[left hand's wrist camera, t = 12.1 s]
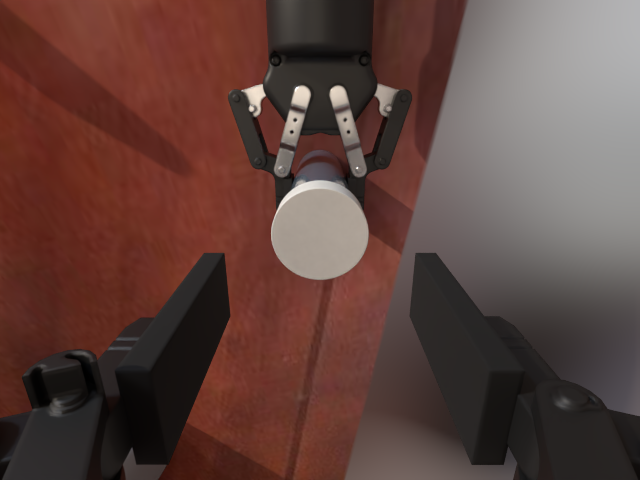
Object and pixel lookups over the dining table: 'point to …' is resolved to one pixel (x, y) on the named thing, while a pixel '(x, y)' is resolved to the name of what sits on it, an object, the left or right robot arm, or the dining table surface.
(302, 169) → the grey cylinder
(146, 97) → the dining table surface
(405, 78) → the dining table surface
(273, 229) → the lid
